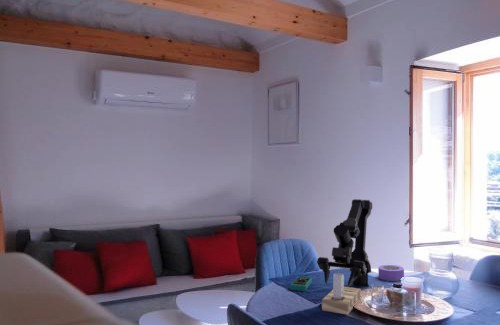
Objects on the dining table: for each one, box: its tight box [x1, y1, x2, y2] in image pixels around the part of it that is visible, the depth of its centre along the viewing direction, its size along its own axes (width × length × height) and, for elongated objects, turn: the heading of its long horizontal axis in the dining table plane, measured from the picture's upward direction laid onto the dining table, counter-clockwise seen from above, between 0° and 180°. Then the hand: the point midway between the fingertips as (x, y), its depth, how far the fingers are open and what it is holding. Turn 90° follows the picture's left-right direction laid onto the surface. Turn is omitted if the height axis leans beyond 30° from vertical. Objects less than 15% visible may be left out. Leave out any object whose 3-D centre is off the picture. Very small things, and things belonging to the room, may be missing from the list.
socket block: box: [321, 286, 362, 315], centre depth 168 cm, size 20×10×4 cm, turn 151°
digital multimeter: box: [289, 276, 313, 292], centre depth 194 cm, size 7×15×3 cm, turn 160°
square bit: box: [332, 272, 345, 301], centre depth 164 cm, size 3×3×13 cm
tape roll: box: [377, 264, 405, 282], centre depth 204 cm, size 12×12×5 cm
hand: (337, 284), depth 162 cm, fingers open, 9 cm apart
